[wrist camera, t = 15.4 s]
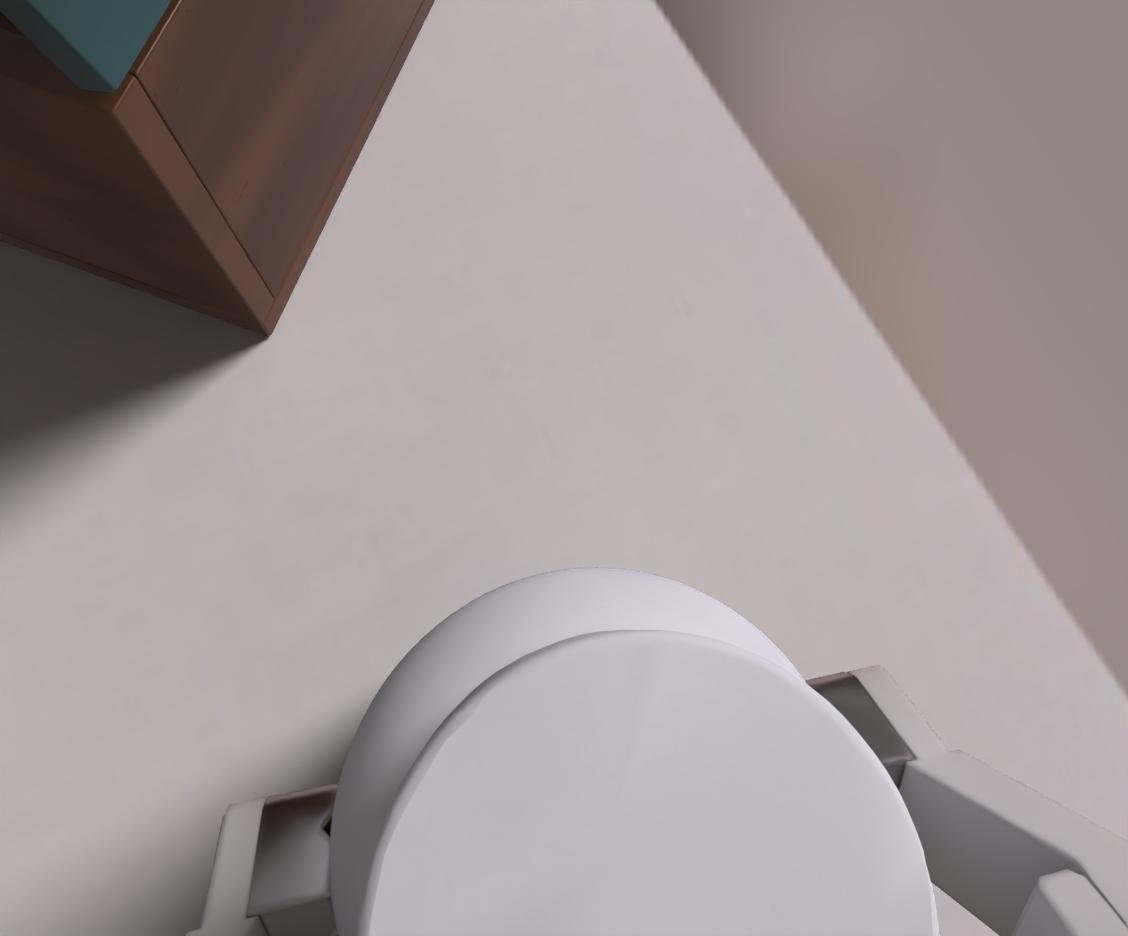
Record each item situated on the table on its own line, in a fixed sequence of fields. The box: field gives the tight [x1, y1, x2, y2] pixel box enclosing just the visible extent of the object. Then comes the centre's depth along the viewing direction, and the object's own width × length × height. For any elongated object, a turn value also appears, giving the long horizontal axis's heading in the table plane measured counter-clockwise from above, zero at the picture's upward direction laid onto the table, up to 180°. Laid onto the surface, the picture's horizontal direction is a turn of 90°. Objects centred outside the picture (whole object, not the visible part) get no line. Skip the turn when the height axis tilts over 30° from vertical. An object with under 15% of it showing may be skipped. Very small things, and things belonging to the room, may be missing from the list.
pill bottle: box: [329, 567, 939, 936], centre depth 11 cm, size 6×6×12 cm
